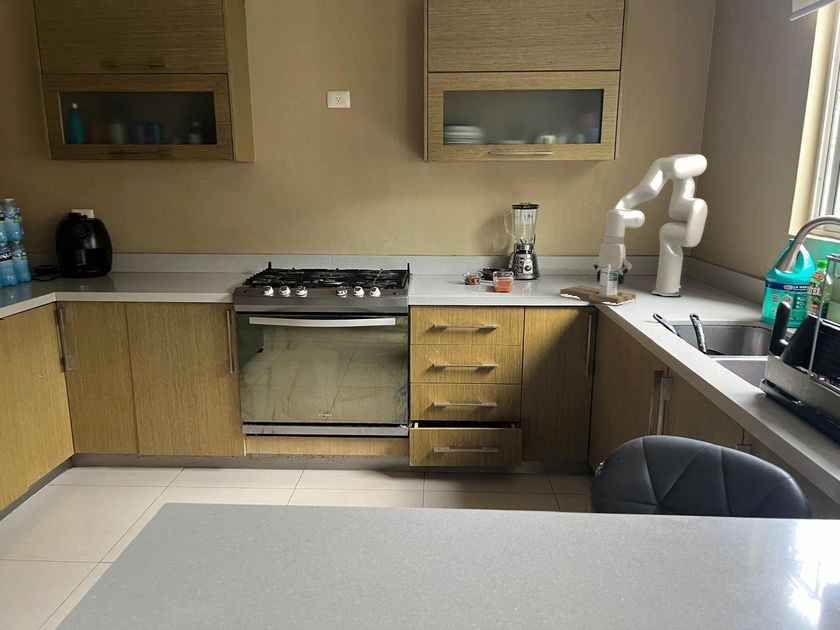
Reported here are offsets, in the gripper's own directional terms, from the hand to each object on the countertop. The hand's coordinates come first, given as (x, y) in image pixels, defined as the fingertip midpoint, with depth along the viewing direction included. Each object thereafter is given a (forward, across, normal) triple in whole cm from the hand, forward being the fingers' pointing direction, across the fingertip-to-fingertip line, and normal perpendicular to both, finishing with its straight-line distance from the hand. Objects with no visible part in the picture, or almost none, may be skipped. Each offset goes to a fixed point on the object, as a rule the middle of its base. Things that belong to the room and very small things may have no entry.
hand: (609, 282), depth 253 cm
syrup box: (+7, 0, 0) cm, 7 cm away
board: (+8, -5, 0) cm, 9 cm away
